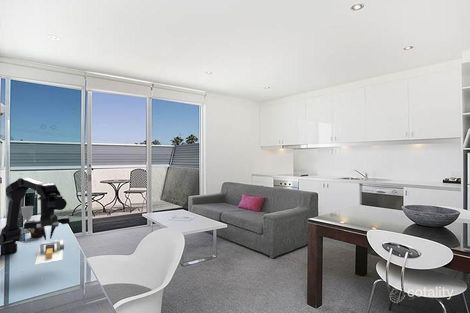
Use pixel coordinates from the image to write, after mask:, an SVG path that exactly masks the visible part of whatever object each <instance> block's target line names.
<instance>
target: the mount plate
mask: <svg viewBox="0 0 470 313" xmlns="http://www.w3.org/2000/svg"><path fill="white" fill-rule="evenodd" d="M60 244H64V239H60ZM49 245H51V244H49ZM45 247H46V245H44V253H40V247H39V249H38V252H37V255H36V256H37V257H36V260H35V263H34V266H35V265H41V264H46V263H51V262H52V263H53V262H57V261H62V260H63V259H64V258H63V256H64V249H60V250H57V243H55V251H54V252H53V254H52V258H47V259H46V252H45Z"/></svg>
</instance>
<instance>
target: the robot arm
mask: <svg viewBox="0 0 470 313" xmlns="http://www.w3.org/2000/svg"><path fill="white" fill-rule="evenodd" d="M29 189H31V190H33V191H35V193H36V194H37V195H39V197H37V200H39V201H40V219H39V220H38V221H39V222H35V221H36V220H35V219H33V220H29V221H27V220H25V222H24V223H23V229H24V230H25V229H30V228H33V227H34V226H37V228H36V229H39V230H40V231H41V232H42V234H43V237H42V238H43V239H44V240H45V241H47V233H46V227H51V228H50V235H49V239H50V240H52V239H53V238H52V237H53V235H54V232H55V229H56V228H57V227H59V225H60V224H61V225H66V224H67V225H68V224H70V223H71V222H70V220H71V219H70V217H69V216H61V217H60V218H58V214H56V213H55V210H56V211H63V210H64V209H66V207H67V204H68V203H67V200H66V199H65V198H63V197H64V196H62V195H61V192H60V191H59V189H58V187H57V186H56V184H55V183H52V182H45V183H44V182H41V181H38V180H35V179H33V178H31V177H19V178H18V179H17V180H15V181H12V182H11V183H9V184H8V186H6V187H5V195H6V197H7V199H8V206H7V207H8V208H7V213H6V214H7V215H6V220H5V221H6V222H5V226H4V227H3V228H2V229H1V231H0V257H3V256H9V255H14V254H16V253H17V252H18V243H17V242H20V238H21V236H22V228H20V227H19V225H18V224H19V216H20V208H21V201H22V200H23V199H24V198H25V196H26V195H27V191H28V190H29Z"/></svg>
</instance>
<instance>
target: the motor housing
mask: <svg viewBox="0 0 470 313" xmlns="http://www.w3.org/2000/svg"><path fill="white" fill-rule="evenodd" d="M60 240H61V239H54V240H45V241H41V242H40V244H39V248H40V253H44V245H49V244H55V243H57V250H60V249H63V250H64V249H65V243H63V244H60Z"/></svg>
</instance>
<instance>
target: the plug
mask: <svg viewBox="0 0 470 313" xmlns="http://www.w3.org/2000/svg"><path fill="white" fill-rule="evenodd" d="M54 251H55V244H51V245H46V247H45V252H46V259H47V258H52V254H53V252H54Z"/></svg>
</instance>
